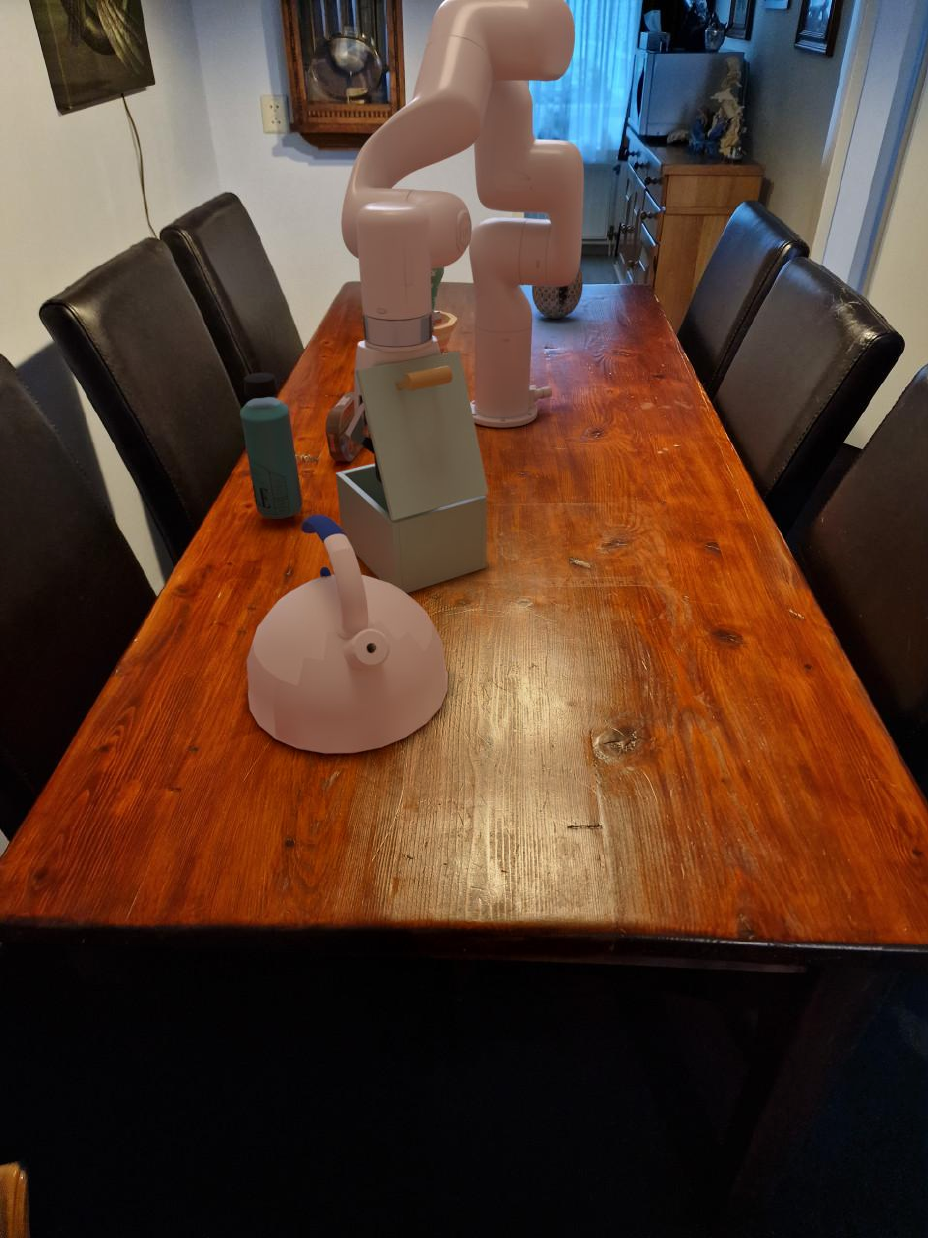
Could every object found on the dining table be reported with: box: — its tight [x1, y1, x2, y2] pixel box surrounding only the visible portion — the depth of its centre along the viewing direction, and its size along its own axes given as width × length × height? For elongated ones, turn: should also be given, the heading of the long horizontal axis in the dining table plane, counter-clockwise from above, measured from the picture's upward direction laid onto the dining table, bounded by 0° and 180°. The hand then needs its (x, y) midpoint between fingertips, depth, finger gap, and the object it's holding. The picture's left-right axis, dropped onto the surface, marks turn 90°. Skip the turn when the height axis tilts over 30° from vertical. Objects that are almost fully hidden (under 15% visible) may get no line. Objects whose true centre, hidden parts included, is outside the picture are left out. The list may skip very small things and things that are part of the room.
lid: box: [356, 350, 489, 520], centre depth 90 cm, size 16×13×5 cm
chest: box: [335, 463, 488, 594], centre depth 102 cm, size 16×13×10 cm
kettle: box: [246, 514, 449, 754], centre depth 78 cm, size 20×21×18 cm
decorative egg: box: [531, 266, 584, 320], centre depth 190 cm, size 12×12×15 cm
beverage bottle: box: [239, 372, 303, 520], centre depth 107 cm, size 6×7×20 cm
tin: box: [325, 391, 371, 463], centre depth 129 cm, size 15×3×8 cm, turn 168°
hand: (405, 479), depth 100 cm, fingers closed on pill bottle, 4 cm apart
